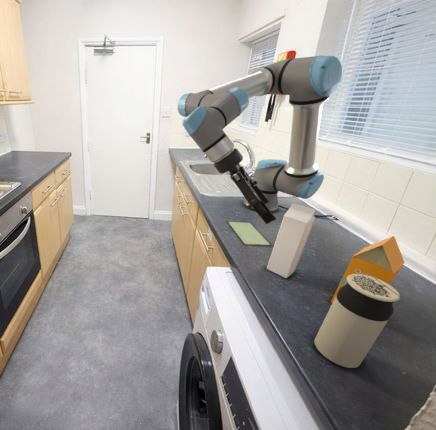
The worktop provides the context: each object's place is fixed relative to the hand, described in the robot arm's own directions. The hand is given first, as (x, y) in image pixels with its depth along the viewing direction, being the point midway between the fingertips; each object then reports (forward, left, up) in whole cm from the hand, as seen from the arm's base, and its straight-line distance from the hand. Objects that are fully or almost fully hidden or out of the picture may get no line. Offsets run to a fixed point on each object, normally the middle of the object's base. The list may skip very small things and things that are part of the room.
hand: (267, 212), depth 78 cm
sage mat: (-7, -22, -19) cm, 30 cm away
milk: (-8, +2, -19) cm, 21 cm away
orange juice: (-20, +16, -19) cm, 32 cm away
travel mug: (-5, +31, -19) cm, 37 cm away
